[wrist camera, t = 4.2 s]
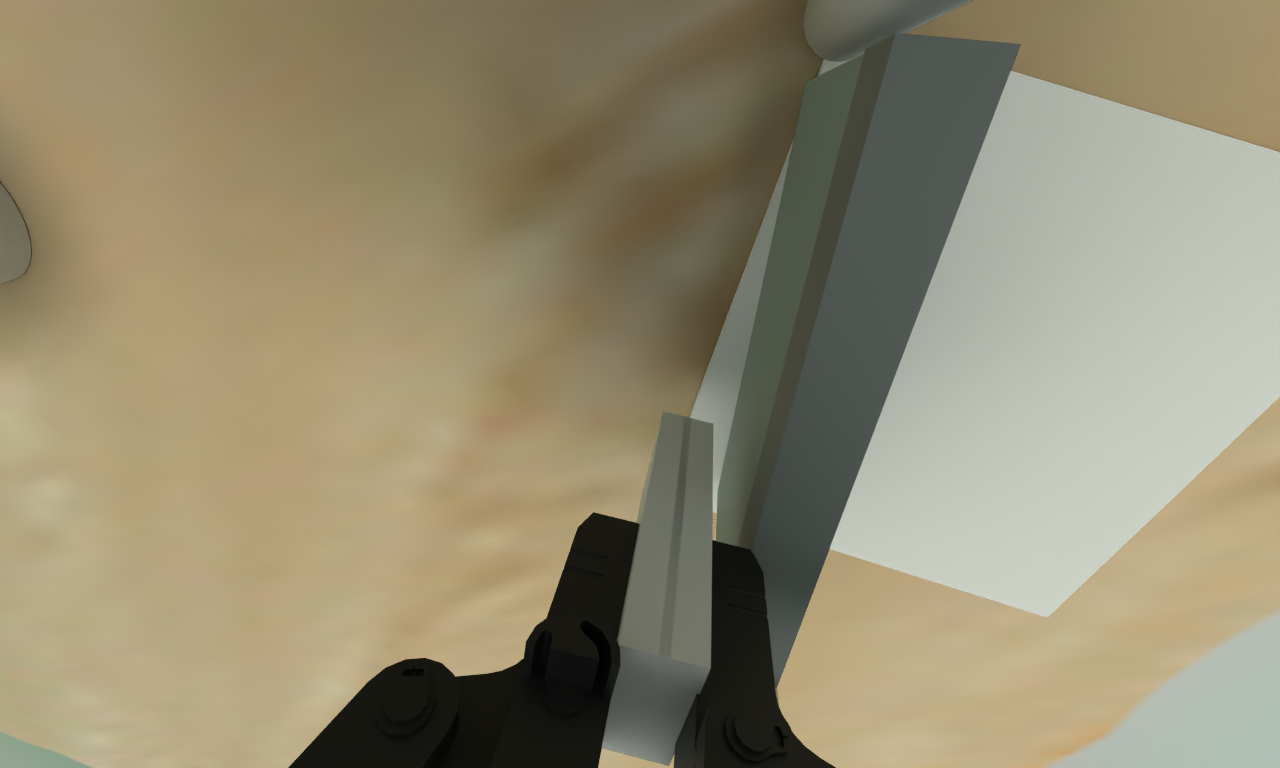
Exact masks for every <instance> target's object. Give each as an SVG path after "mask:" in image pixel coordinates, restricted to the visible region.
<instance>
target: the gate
mask: <svg viewBox="0 0 1280 768" xmlns="http://www.w3.org/2000/svg"><path fill="white" fill-rule="evenodd" d="M970 1H972V0H808V2H807V5H806V9H805V14H804V31H805V36H806V39H807V41H808V43H809V45H810V47H811V48H812V50H813V51H814V52H815V53H816V54H817V55H818V56H820V57H821V58H823V59H825V60H828V61H833V62H843V61H848V60H850V61H848V62H846V63H844V64H842V65H839V66H837V67H835V68H833V69H831V70H829V71H827V72H825V73H823V74H821V75H819V76H817V77H815V78H813V79H811V80H809V81H807V82H806V85H805V89H804V94H803V98H802V103H801V108H800V112H799V117H798V121H797V126H796V131H795V135H794V140H793V145H792V149H791V154H790V158H789V163H788V168H787V172H786V177H785V181H784V186H783V191H782V195H781V200H780V205H779V209H778V214H777V218H776V223H775V228H774V232H773V237H772V242H771V246H770V251H769V255H768V260H767V265H766V269H765V274H764V278H763V283H762V288H761V292H760V297H759V302H758V306H757V311H756V315H755V320H754V325H753V329H752V334H751V339H750V343H749V348H748V352H747V357H746V362H745V366H744V371H743V375H742V380H741V385H740V389H739V394H738V399H737V403H736V408H735V412H734V417H733V422H732V426H731V431H730V435H729V440H728V445H727V449H726V454H725V459H724V463H723V468H722V472H721V477H720V482H719V486H718V491H717V527H716V541H718V542H722V543H726V544H730V545H734V546H738V547H742V548H746V549H751V552H752V553H753V554H754V556H755V557H756V559H757V561H758V563H759V565H760V567H761V569H762V570H763V575H764V584H765V594H766V595H765V599H766V604H767V613H768V614H767V619H768V623H769V633H770V642H771V652H772V662H773V671H774V681H775V691H776V697H777V701H778V692H777V686H778V683H779V681H780V678H781V675H782V673H783V670H784V667H785V665H786V662H787V660H788V657H789V654H790V652H791V649H792V646H793V644H794V641H795V638H796V636H797V633H798V630H799V628H800V625H801V623H802V620H803V617H804V615H805V612H806V609H807V607H808V604H809V601H810V599H811V596H812V594H813V591H814V588H815V586H816V583H817V580H818V578H819V575H820V572H821V570H822V567H823V565H824V562H825V559H826V557H827V554H828V551H829V549H830V546H831V543H832V541H833V538H834V536H835V533H836V530H837V528H838V525H839V522H840V520H841V517H842V514H843V512H844V509H845V507H846V504H847V501H848V499H849V496H850V493H851V491H852V488H853V485H854V483H855V480H856V478H857V475H858V472H859V470H860V467H861V464H862V462H863V459H864V456H865V454H866V451H867V449H868V446H869V443H870V441H871V438H872V435H873V433H874V430H875V427H876V425H877V422H878V420H879V417H880V414H881V412H882V409H883V406H884V404H885V401H886V398H887V396H888V393H889V390H890V388H891V385H892V383H893V380H894V377H895V375H896V372H897V369H898V367H899V364H900V361H901V359H902V356H903V354H904V351H905V348H906V346H907V343H908V340H909V338H910V335H911V332H912V330H913V327H914V325H915V322H916V319H917V317H918V314H919V311H920V309H921V306H922V303H923V301H924V298H925V296H926V293H927V290H928V288H929V285H930V282H931V280H932V277H933V274H934V272H935V269H936V267H937V264H938V261H939V259H940V256H941V253H942V251H943V248H944V245H945V243H946V240H947V238H948V235H949V232H950V230H951V227H952V224H953V222H954V219H955V216H956V214H957V211H958V209H959V206H960V203H961V201H962V198H963V195H964V193H965V190H966V187H967V185H968V182H969V179H970V177H971V174H972V172H973V169H974V166H975V164H976V161H977V158H978V156H979V153H980V150H981V148H982V145H983V143H984V140H985V137H986V135H987V132H988V129H989V127H990V124H991V121H992V119H993V116H994V114H995V111H996V108H997V106H998V103H999V100H1000V98H1001V95H1002V92H1003V90H1004V87H1005V85H1006V82H1007V79H1008V77H1009V74H1010V71H1011V69H1012V66H1013V63H1014V61H1015V58H1016V56H1017V53H1018V50H1019V48H1020V45H1021V44H1012V43H1001V42H990V41H978V40H967V39H956V38H945V37H934V36H923V35H912V34H905V33H907V32H909V31H911V30H913V29H915V28H917V27H919V26H921V25H923V24H925V23H927V22H929V21H931V20H934V19H936V18H938V17H940V16H942V15H944V14H946V13H948V12H950V11H952V10H954V9H956V8H958V7H960V6H962V5H964V4H966V3H968V2H970ZM853 58H854V59H853ZM851 59H852V60H851ZM778 706H779V702H778Z"/></svg>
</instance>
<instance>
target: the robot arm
mask: <svg viewBox="0 0 1280 768" xmlns="http://www.w3.org/2000/svg"><path fill="white" fill-rule="evenodd" d="M713 425H714V424H713V423H709V422H705V421H700V420H696V419H692V418H688V417H684V416H680V415H676V414H671V413H667V412H663V413H662V417H661V421H660V425H659V429H658V433H657V437H656V441H655V444H654V448H653V452H652V456H651V460H650V464H649V468H648V472H647V476H646V480H645V484H644V488H643V492H642V497H641V502H640V507H639V512H638V517H637V522H636V523H635V522H631V521H626V520H622V519H618V518H614V517H610V516H606V515H602V514H598V513H594V512H593V513H592V514H591V515H590V516H589V517H588V518H587V519H586V520H585V521H584V522H583V523H582V524H581V525H580V526H579V527H578V529H577V532H576V534H575V537H574V540H573V543H572V546H571V549H570V552H569V555H568V558H567V561H566V563H565V567H564V570H563V572H562V575H561V578H560V581H559V584H558V587H557V589H556V592H555V595H554V598H553V601H552V604H551V607H550V610H549V613H548V615H547V618H546V619H545V620H544V621H542V622H541V623H539V624H538V625H537V626H536V627H535V628H534V630H533V631H532V633H531V635H530V636H529V638H528V639H527V641H526V647H525V654H524V659H522V660H521V661H520V662H518V663H517V664H516V665H514V666H512V667H509V668H507V669H505V670H503V671H499V672H494V673H489V674H479V675H469V676H458V677H455V676H454V674H453V673H452V672H451V671H450V670H449V669H447V668H446V667H445V666H444V665H443V664H442V663H439V662H436V661H433V660H430V659H427V658H419V659H406V660H403V661H401V662H398V663H396V664H394V665H391V666H389V667H386V668H385V669H384V670H382V671H381V672H380V673H379V674H377V675H376V676H375V677H374V678H372V679H371V680H370V681H369V682H368V683H367V684H366V685H365V686H364V687H363V688H362V689H361V690H360V691H359V692H358V693H357V694H356V696H355V697H354V698H353V699H352V700H351V701H350V702H349V703H348V704H347V705H346V706H345V707H344V708H343V709H342V711H341V712H340V713H339V714H338V715H337V716H336V717H335V718H334V719H333V720H332V721H331V722H330V723H329V725H328V726H327V727H326V728H325V729H324V730H323V731H322V732H321V733H320V734H319V735H318V736H317V737H316V739H315V740H314V741H313V742H312V743H311V744H310V745H309V746H308V747H307V748H306V749H305V750H304V751H303V753H302V754H301V755H300V756H299V757H298V758H297V759H296V760H295V761H294V762H293V763H292V764H291V765H290V767H289V768H598V764H599V759H600V754H601V749H602V748H603V749H607V750H611V751H615V752H619V753H623V754H625V755H629V756H633V757H637V758H641V759H645V760H649V761H652V762H656V763H660V764H664V765H668V766H669V764H670V762H671V760H672V757H673V755H674V753H675V758H674V768H835V767H834V766H832V765H831V764H829V763H827V762H826V761H824V760H823V759H821V758H819V757H818V756H817V755H815V754H814V753H813V752H812V751H810V750H809V749H808V748H806V747H805V746H804V745H803V744H802V743H801V742H800V740H799V739H798V738H797V737H796V736H795V735H794V734H793V732H792V731H791V728H790V726H789V724H788V723H787V721H786V720H785V718H784V717H783V715H782V713H781V711H780V708H779V706H778V701H777V697H776V691H775V681H774V671H773V662H772V652H771V642H770V633H769V623H768V619H767V614H768V613H767V604H766V599H765V595H766V594H765V584H764V575H763V570H762V569H761V567H760V565H759V563H758V561H757V559H756V557H755V556H754V554H753V553H752V552H751V549H746V548H742V547H738V546H734V545H730V544H726V543H722V542H718V541H714V540H712V515H713Z"/></svg>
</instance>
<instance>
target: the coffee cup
mask: <svg viewBox="0 0 1280 768" xmlns="http://www.w3.org/2000/svg"><path fill="white" fill-rule="evenodd" d="M30 258H31V243H30V239H29V235H28V231H27V228H26V225H25V223H24V221H23V218H22V216H21V214H20V212H19V210H18V208H17V207H16V205H15V203H14V201H13V200H12V198H11V196H10V195H9V194H8V192H7V191H6V190H5V188H4V187H3V185H2V184H1V183H0V284H1V283H4V282H7V281H10V280H13V279H16V278H18V277H20V276H21V275H22V274H24V273H25V271H26V269H27V268H28V266H29V263H30Z"/></svg>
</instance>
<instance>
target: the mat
mask: <svg viewBox="0 0 1280 768" xmlns="http://www.w3.org/2000/svg"><path fill="white" fill-rule="evenodd" d="M853 59H854V58H853ZM851 60H852V59H851ZM848 61H850V60H848ZM848 61H843V62H833V61H828V60H825V59H824V60H823V62H822V65H821V68H820V70H819V73H818V75H817V76H819V75H821V74H823V73H825V72H827V71H829V70H831V69H833V68H835V67H837V66H839V65H842V64H844V63H846V62H848ZM793 140H794V139H793ZM792 145H793V142H792ZM792 145H791V147H790V150H789V152H788V155H787V158H786V160H785V163H784V166H783V168H782V171H781V174H780V176H779V179H778V182H777V184H776V187H775V190H774V192H773V195H772V198H771V200H770V203H769V206H768V208H767V211H766V214H765V216H764V219H763V222H762V224H761V227H760V229H759V232H758V235H757V237H756V240H755V243H754V245H753V248H752V251H751V253H750V256H749V259H748V261H747V264H746V267H745V269H744V272H743V275H742V277H741V280H740V283H739V285H738V288H737V291H736V293H735V296H734V299H733V301H732V304H731V306H730V309H729V312H728V314H727V317H726V320H725V322H724V325H723V328H722V330H721V333H720V336H719V338H718V341H717V344H716V346H715V349H714V352H713V354H712V357H711V360H710V362H709V365H708V368H707V370H706V373H705V376H704V378H703V381H702V383H701V386H700V389H699V391H698V394H697V397H696V399H695V402H694V405H693V407H692V410H691V413H690V415H689V418H692V419H696V420H700V421H705V422H709V423H713V424H714V425H713V513H717V491H718V486H719V482H720V477H721V472H722V468H723V463H724V459H725V454H726V449H727V445H728V440H729V435H730V431H731V426H732V422H733V417H734V412H735V408H736V403H737V399H738V394H739V389H740V385H741V380H742V375H743V371H744V366H745V362H746V357H747V352H748V348H749V343H750V339H751V334H752V329H753V325H754V320H755V315H756V311H757V306H758V302H759V297H760V292H761V288H762V283H763V278H764V274H765V269H766V265H767V260H768V255H769V251H770V246H771V242H772V237H773V232H774V228H775V223H776V218H777V214H778V209H779V205H780V200H781V195H782V191H783V186H784V181H785V177H786V172H787V168H788V163H789V158H790V154H791V149H792ZM1279 397H1280V152H1277V151H1274V150H1271V149H1268V148H1264V147H1261V146H1258V145H1254V144H1251V143H1248V142H1245V141H1241V140H1238V139H1235V138H1231V137H1228V136H1225V135H1222V134H1218V133H1215V132H1212V131H1208V130H1205V129H1202V128H1198V127H1195V126H1192V125H1189V124H1185V123H1182V122H1179V121H1175V120H1172V119H1169V118H1166V117H1162V116H1159V115H1156V114H1152V113H1149V112H1146V111H1143V110H1139V109H1136V108H1133V107H1129V106H1126V105H1123V104H1119V103H1116V102H1113V101H1110V100H1106V99H1103V98H1100V97H1096V96H1093V95H1090V94H1087V93H1083V92H1080V91H1077V90H1073V89H1070V88H1067V87H1064V86H1060V85H1057V84H1054V83H1050V82H1047V81H1044V80H1040V79H1037V78H1034V77H1031V76H1027V75H1024V74H1021V73H1017V72H1014V71H1010V74H1009V77H1008V79H1007V82H1006V85H1005V87H1004V90H1003V92H1002V95H1001V98H1000V100H999V103H998V106H997V108H996V111H995V114H994V116H993V119H992V121H991V124H990V127H989V129H988V132H987V135H986V137H985V140H984V143H983V145H982V148H981V150H980V153H979V156H978V158H977V161H976V164H975V166H974V169H973V172H972V174H971V177H970V179H969V182H968V185H967V187H966V190H965V193H964V195H963V198H962V201H961V203H960V206H959V209H958V211H957V214H956V216H955V219H954V222H953V224H952V227H951V230H950V232H949V235H948V238H947V240H946V243H945V245H944V248H943V251H942V253H941V256H940V259H939V261H938V264H937V267H936V269H935V272H934V274H933V277H932V280H931V282H930V285H929V288H928V290H927V293H926V296H925V298H924V301H923V303H922V306H921V309H920V311H919V314H918V317H917V319H916V322H915V325H914V327H913V330H912V332H911V335H910V338H909V340H908V343H907V346H906V348H905V351H904V354H903V356H902V359H901V361H900V364H899V367H898V369H897V372H896V375H895V377H894V380H893V383H892V385H891V388H890V390H889V393H888V396H887V398H886V401H885V404H884V406H883V409H882V412H881V414H880V417H879V420H878V422H877V425H876V427H875V430H874V433H873V435H872V438H871V441H870V443H869V446H868V449H867V451H866V454H865V456H864V459H863V462H862V464H861V467H860V470H859V472H858V475H857V478H856V480H855V483H854V485H853V488H852V491H851V493H850V496H849V499H848V501H847V504H846V507H845V509H844V512H843V514H842V517H841V520H840V522H839V525H838V528H837V530H836V533H835V536H834V538H833V541H832V543H831V546H830V549H831V550H834V551H837V552H841V553H844V554H847V555H850V556H853V557H856V558H860V559H863V560H866V561H869V562H872V563H875V564H879V565H882V566H885V567H888V568H891V569H895V570H898V571H901V572H904V573H907V574H910V575H914V576H917V577H920V578H923V579H926V580H929V581H933V582H936V583H939V584H942V585H945V586H949V587H952V588H955V589H958V590H961V591H964V592H968V593H971V594H974V595H977V596H980V597H984V598H987V599H990V600H993V601H996V602H999V603H1003V604H1006V605H1009V606H1012V607H1015V608H1018V609H1022V610H1025V611H1028V612H1031V613H1034V614H1038V615H1041V616H1044V617H1048V616H1049V615H1050V614H1051V613H1053V612H1054V611H1055V610H1056V609H1057V608H1058V607H1059V606H1060V605H1061V604H1062V603H1063V602H1064V601H1065V600H1066V599H1067V598H1068V597H1069V596H1070V595H1071V594H1073V593H1074V592H1075V591H1076V590H1077V589H1078V588H1079V587H1080V586H1081V585H1082V584H1083V583H1084V582H1085V581H1086V580H1087V579H1088V578H1089V577H1090V576H1091V575H1093V574H1094V573H1095V572H1096V571H1097V570H1098V569H1099V568H1100V567H1101V566H1102V565H1103V564H1104V563H1105V562H1106V561H1107V560H1108V559H1109V558H1110V557H1112V556H1113V555H1114V554H1115V553H1116V552H1117V551H1118V550H1119V549H1120V548H1121V547H1122V546H1123V545H1124V544H1125V543H1126V542H1127V541H1128V540H1129V539H1130V538H1132V537H1133V536H1134V535H1135V534H1136V533H1137V532H1138V531H1139V530H1140V529H1141V528H1142V527H1143V526H1144V525H1145V524H1146V523H1147V522H1148V521H1149V520H1150V519H1152V518H1153V517H1154V516H1155V515H1156V514H1157V513H1158V512H1159V511H1160V510H1161V509H1162V508H1163V507H1164V506H1165V505H1166V504H1167V503H1168V502H1169V501H1170V500H1172V499H1173V498H1174V497H1175V496H1176V495H1177V494H1178V493H1179V492H1180V491H1181V490H1182V489H1183V488H1184V487H1185V486H1186V485H1187V484H1188V483H1189V482H1190V481H1192V480H1193V479H1194V478H1195V477H1196V476H1197V475H1198V474H1199V473H1200V472H1201V471H1202V470H1203V469H1204V468H1205V467H1206V466H1207V465H1208V464H1209V463H1210V462H1212V461H1213V460H1214V459H1215V458H1216V457H1217V456H1218V455H1219V454H1220V453H1221V452H1222V451H1223V450H1224V449H1225V448H1226V447H1227V446H1228V445H1229V444H1231V443H1232V442H1233V441H1234V440H1235V439H1236V438H1237V437H1238V436H1239V435H1240V434H1241V433H1242V432H1243V431H1244V430H1245V429H1246V428H1247V427H1248V426H1249V425H1251V424H1252V423H1253V422H1254V421H1255V420H1256V419H1257V418H1258V417H1259V416H1260V415H1261V414H1262V413H1263V412H1264V411H1265V410H1266V409H1267V408H1268V407H1269V406H1271V405H1272V404H1273V403H1274V402H1275V401H1276V400H1277V399H1278V398H1279Z"/></svg>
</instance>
